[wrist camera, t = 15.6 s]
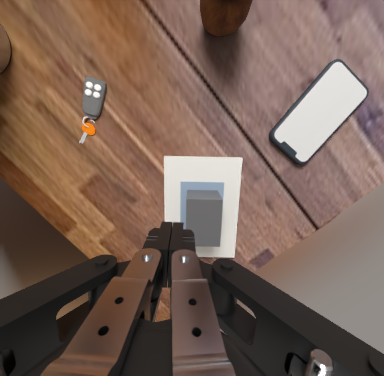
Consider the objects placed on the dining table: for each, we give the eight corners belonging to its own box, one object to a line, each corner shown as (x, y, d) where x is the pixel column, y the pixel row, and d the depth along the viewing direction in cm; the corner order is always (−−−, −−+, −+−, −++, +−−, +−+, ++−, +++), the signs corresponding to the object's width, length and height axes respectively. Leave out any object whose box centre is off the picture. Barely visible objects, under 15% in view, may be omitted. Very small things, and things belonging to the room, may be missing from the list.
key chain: (87, 76, 31) (82, 73, 30) (108, 83, 32) (104, 80, 30) (76, 152, 34) (71, 152, 33) (96, 157, 35) (92, 158, 33)
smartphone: (330, 58, 31) (264, 136, 34) (338, 54, 30) (268, 135, 32) (364, 95, 32) (298, 166, 35) (373, 92, 31) (303, 167, 33)
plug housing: (186, 229, 36) (185, 246, 30) (187, 189, 34) (186, 199, 29) (215, 230, 36) (219, 246, 30) (217, 190, 34) (222, 199, 29)
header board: (165, 253, 39) (162, 267, 34) (164, 155, 34) (160, 157, 30) (233, 254, 39) (238, 268, 34) (241, 157, 34) (248, 159, 30)
